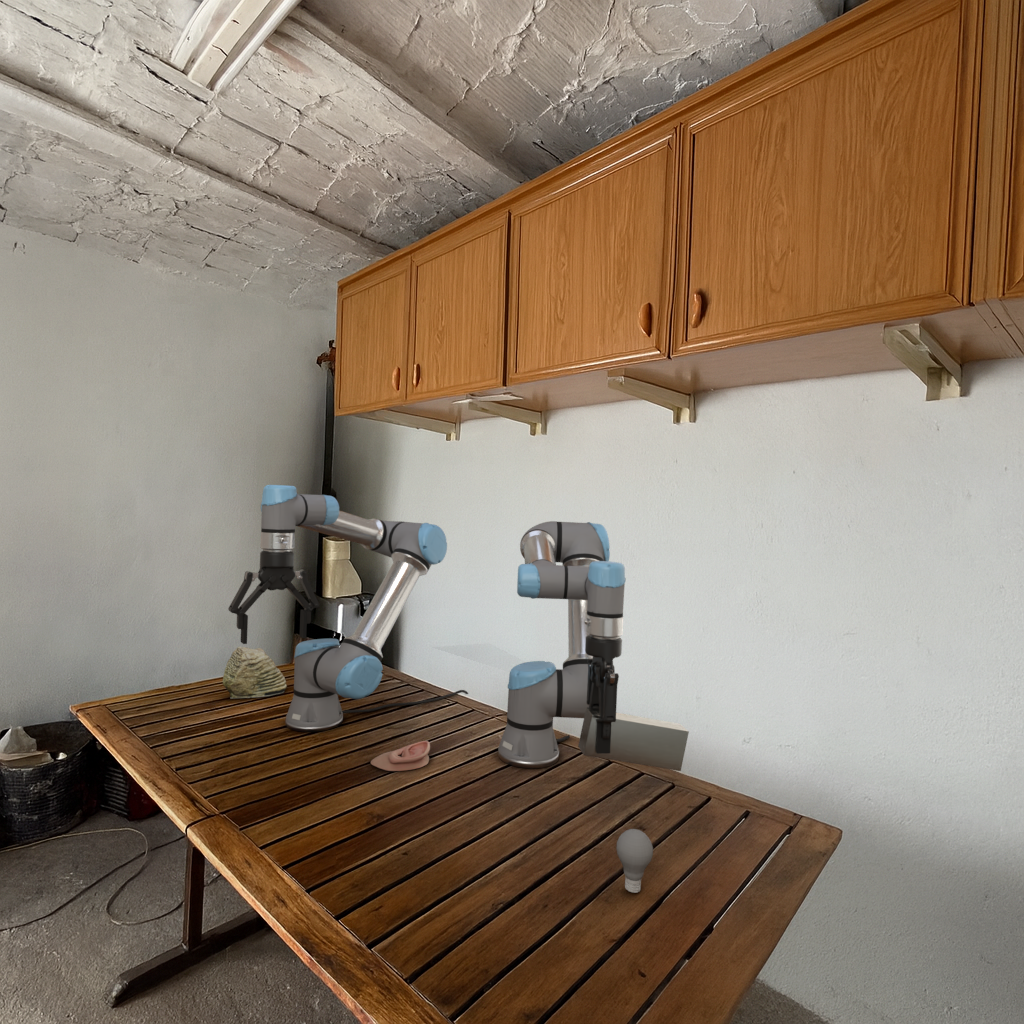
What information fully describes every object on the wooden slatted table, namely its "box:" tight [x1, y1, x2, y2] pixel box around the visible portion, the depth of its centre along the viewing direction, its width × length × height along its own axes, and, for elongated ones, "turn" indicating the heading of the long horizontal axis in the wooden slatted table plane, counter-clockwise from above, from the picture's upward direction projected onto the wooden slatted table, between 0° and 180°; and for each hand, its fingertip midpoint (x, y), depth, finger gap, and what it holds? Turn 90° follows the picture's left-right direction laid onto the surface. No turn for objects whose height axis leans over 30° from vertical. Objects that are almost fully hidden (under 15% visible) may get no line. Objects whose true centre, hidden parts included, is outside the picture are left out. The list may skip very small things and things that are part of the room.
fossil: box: [222, 646, 288, 699], centre depth 198 cm, size 9×18×15 cm, turn 132°
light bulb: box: [615, 828, 654, 894], centre depth 106 cm, size 6×6×10 cm
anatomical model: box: [370, 740, 431, 772], centre depth 153 cm, size 13×4×12 cm
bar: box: [578, 707, 690, 772], centre depth 133 cm, size 21×5×8 cm, turn 98°
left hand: (274, 640), depth 150 cm, fingers open, 13 cm apart
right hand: (598, 747), depth 132 cm, fingers closed on bar, 5 cm apart
